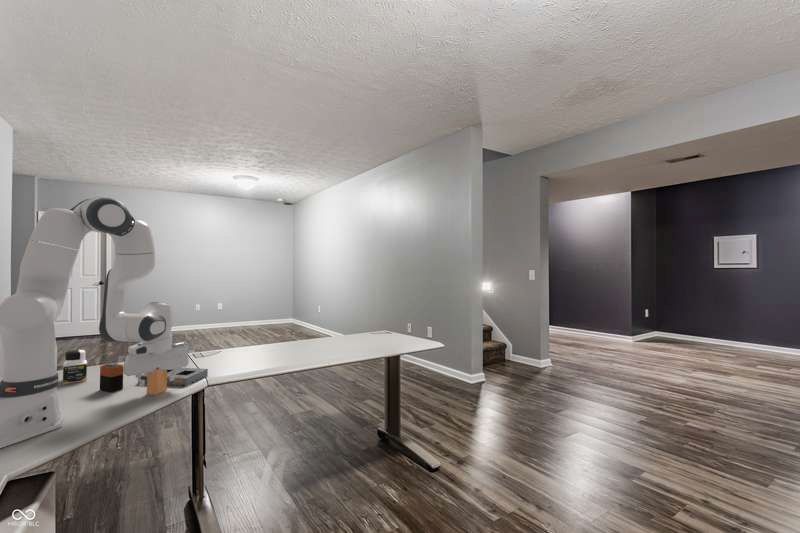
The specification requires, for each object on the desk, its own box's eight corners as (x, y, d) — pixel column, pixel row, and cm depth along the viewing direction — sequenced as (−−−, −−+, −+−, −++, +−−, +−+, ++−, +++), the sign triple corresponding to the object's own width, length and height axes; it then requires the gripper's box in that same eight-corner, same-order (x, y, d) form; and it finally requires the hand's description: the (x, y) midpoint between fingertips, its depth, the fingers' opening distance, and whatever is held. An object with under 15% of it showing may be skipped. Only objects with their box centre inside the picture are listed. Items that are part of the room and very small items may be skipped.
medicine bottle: (62, 384, 144) (63, 353, 144) (63, 379, 149) (63, 350, 149) (86, 381, 149) (87, 351, 149) (86, 376, 154) (87, 347, 154)
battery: (111, 392, 136) (111, 365, 136) (98, 390, 138) (99, 363, 138) (123, 389, 140) (124, 362, 140) (111, 386, 142) (112, 360, 142)
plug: (157, 394, 135) (157, 368, 135) (146, 394, 135) (147, 367, 135) (166, 390, 140) (167, 364, 140) (156, 389, 140) (157, 364, 140)
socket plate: (186, 386, 145) (186, 378, 145) (138, 383, 147) (138, 376, 147) (207, 375, 159) (207, 368, 159) (163, 373, 161) (163, 366, 161)
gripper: (186, 340, 147) (185, 375, 147) (122, 348, 132) (121, 387, 132) (191, 343, 143) (190, 379, 143) (127, 351, 128) (125, 391, 128)
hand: (157, 383), depth 138 cm, fingers open, 8 cm apart
